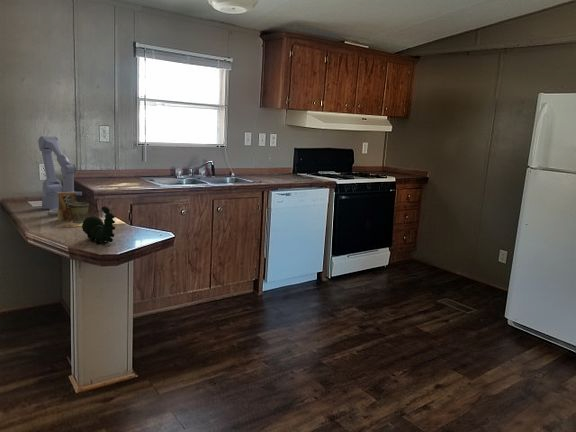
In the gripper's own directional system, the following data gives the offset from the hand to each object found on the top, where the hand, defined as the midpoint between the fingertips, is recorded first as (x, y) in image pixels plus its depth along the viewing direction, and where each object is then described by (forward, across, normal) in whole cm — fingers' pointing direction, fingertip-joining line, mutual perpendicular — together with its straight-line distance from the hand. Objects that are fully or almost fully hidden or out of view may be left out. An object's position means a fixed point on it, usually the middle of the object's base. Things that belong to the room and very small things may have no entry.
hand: (68, 207), depth 277 cm
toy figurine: (+3, +11, -74) cm, 74 cm away
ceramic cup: (+3, +6, -26) cm, 27 cm away
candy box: (+3, -1, -20) cm, 20 cm away
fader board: (+3, 0, 0) cm, 3 cm away
